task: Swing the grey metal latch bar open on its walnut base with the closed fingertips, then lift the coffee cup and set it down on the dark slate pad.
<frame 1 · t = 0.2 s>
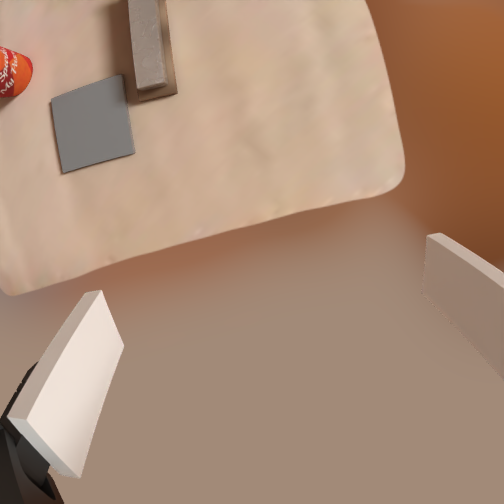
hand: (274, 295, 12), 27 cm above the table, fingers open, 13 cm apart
latch bar: (145, 26, 26), point 3 cm above the table, hinge at 0.0°
coffee cup: (17, 75, 28), on the table
slate pad: (91, 124, 33), on the table
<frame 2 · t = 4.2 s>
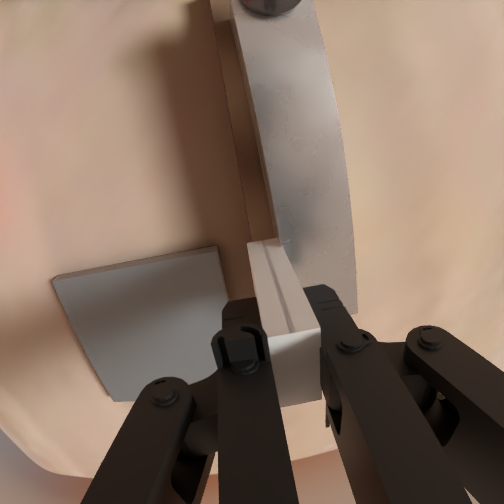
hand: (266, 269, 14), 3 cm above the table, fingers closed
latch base: (259, 22, 12), on the table
latch bar: (298, 146, 12), point 3 cm above the table, hinge at 2.0°, touching gripper
slate pad: (154, 335, 18), on the table
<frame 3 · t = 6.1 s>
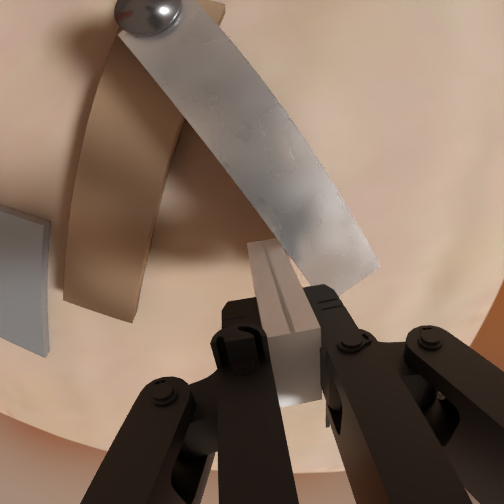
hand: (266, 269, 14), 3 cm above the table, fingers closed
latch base: (168, 36, 12), on the table
latch bar: (249, 134, 12), point 3 cm above the table, hinge at 54.6°, touching gripper
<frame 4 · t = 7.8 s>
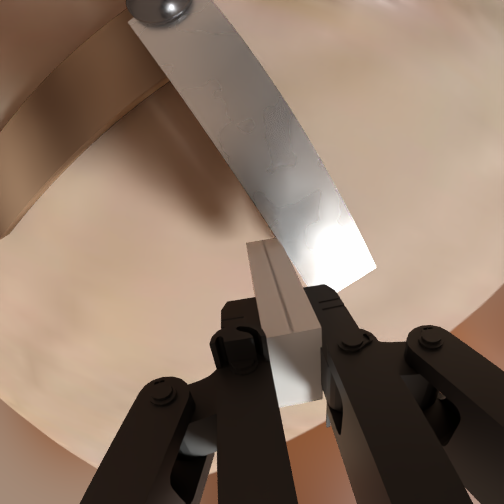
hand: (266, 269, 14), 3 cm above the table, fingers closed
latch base: (176, 28, 12), on the table
latch bar: (251, 128, 12), point 3 cm above the table, hinge at 89.1°, touching gripper
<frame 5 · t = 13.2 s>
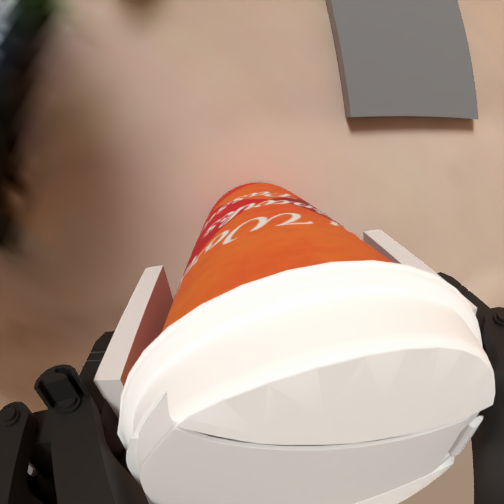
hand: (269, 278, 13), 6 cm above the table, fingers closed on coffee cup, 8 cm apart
coffee cup: (256, 232, 19), on the table, touching gripper
slate pad: (406, 41, 14), on the table
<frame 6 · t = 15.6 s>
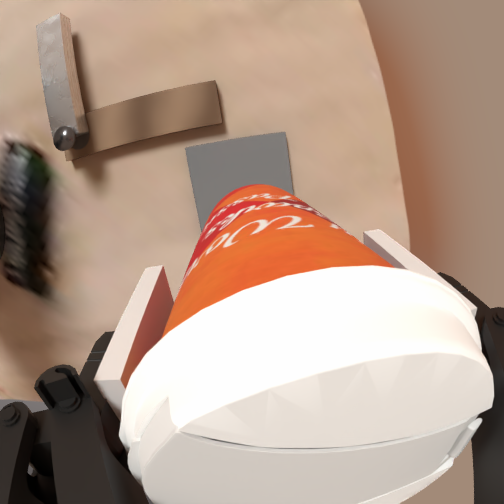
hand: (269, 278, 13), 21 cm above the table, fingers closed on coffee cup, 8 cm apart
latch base: (82, 136, 29), on the table
latch bar: (59, 80, 23), point 3 cm above the table, hinge at 93.5°
coffee cup: (256, 233, 19), point 15 cm above the table, touching gripper
slate pad: (242, 186, 32), on the table
when the fingers open (8 cm above the table, at t = 18.4 s): coffee cup drops 1 cm, resting on slate pad.
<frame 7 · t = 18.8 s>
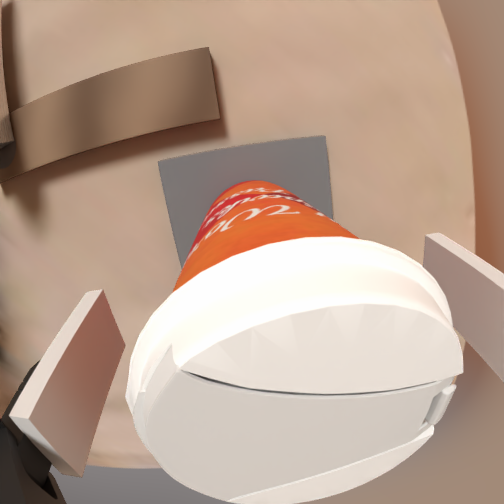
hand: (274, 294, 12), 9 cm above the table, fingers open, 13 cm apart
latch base: (11, 146, 17), on the table
coffee cup: (253, 226, 20), point 1 cm above the table, touching slate pad
slate pad: (253, 223, 20), on the table
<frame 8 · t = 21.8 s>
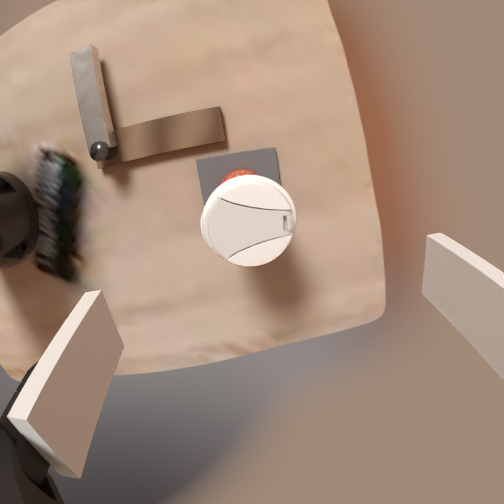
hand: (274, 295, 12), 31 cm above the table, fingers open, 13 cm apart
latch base: (111, 148, 37), on the table
latch bar: (92, 102, 32), point 3 cm above the table, hinge at 93.5°
coffee cup: (241, 191, 40), point 1 cm above the table, touching slate pad
slate pad: (241, 190, 41), on the table
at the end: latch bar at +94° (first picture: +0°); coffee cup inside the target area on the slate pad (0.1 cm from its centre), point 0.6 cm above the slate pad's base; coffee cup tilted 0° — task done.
